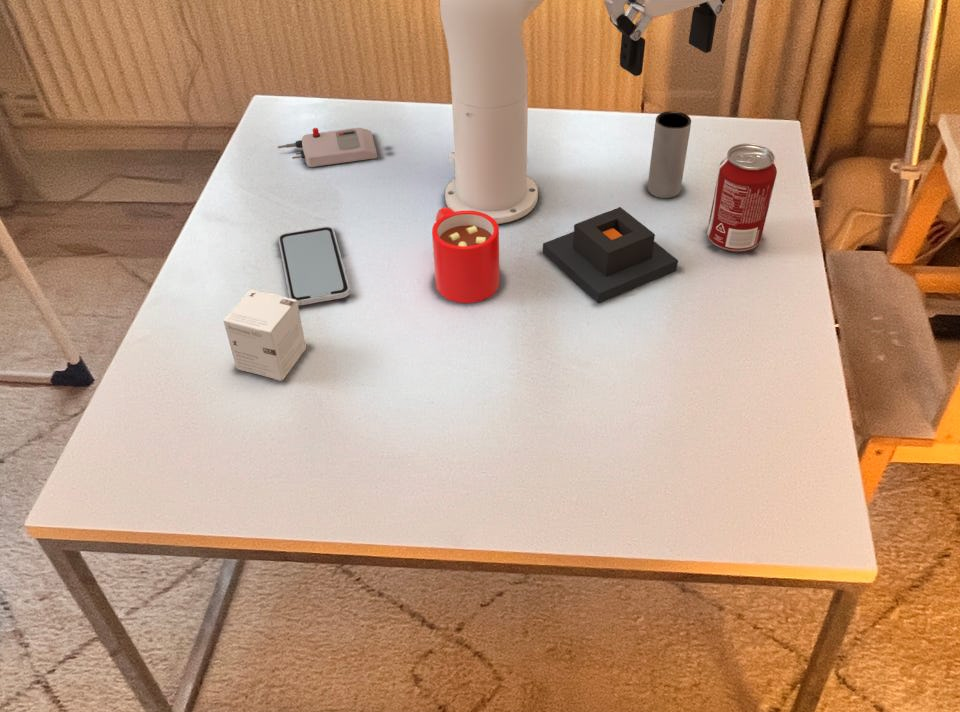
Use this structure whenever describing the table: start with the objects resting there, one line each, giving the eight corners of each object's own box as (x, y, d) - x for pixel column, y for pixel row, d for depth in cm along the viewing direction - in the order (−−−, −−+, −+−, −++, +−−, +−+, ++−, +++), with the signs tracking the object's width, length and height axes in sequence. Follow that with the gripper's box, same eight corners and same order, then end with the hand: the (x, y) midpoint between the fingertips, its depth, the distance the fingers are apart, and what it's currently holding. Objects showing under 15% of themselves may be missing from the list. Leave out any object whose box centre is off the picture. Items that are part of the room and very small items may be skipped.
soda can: (759, 258, 116) (780, 173, 107) (705, 252, 117) (721, 168, 108) (759, 227, 121) (779, 143, 112) (707, 222, 122) (722, 138, 113)
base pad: (542, 253, 118) (543, 226, 115) (618, 223, 122) (621, 196, 119) (598, 303, 111) (600, 276, 108) (676, 270, 115) (681, 243, 112)
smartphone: (333, 225, 122) (351, 292, 112) (334, 231, 123) (352, 298, 112) (276, 234, 121) (290, 302, 111) (278, 240, 121) (291, 309, 111)
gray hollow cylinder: (687, 191, 127) (698, 121, 119) (662, 202, 125) (672, 132, 117) (665, 176, 129) (674, 107, 121) (640, 187, 127) (648, 117, 120)
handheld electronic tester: (390, 157, 134) (388, 138, 132) (281, 172, 132) (278, 153, 130) (383, 134, 139) (381, 115, 137) (278, 148, 137) (274, 129, 135)
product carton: (235, 370, 105) (220, 320, 99) (262, 336, 108) (249, 286, 103) (283, 382, 103) (270, 332, 98) (308, 348, 107) (297, 297, 101)
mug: (465, 239, 120) (463, 186, 114) (511, 290, 113) (511, 235, 107) (411, 258, 118) (405, 204, 112) (454, 310, 111) (450, 256, 105)
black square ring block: (572, 247, 116) (574, 224, 113) (617, 230, 118) (620, 206, 116) (606, 276, 112) (608, 253, 109) (652, 257, 114) (655, 234, 112)
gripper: (729, -140, 95) (703, 28, 108) (592, -107, 89) (582, 66, 102) (781, -121, 91) (747, 52, 103) (640, -84, 85) (623, 94, 98)
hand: (665, 59), depth 103 cm, fingers open, 9 cm apart
